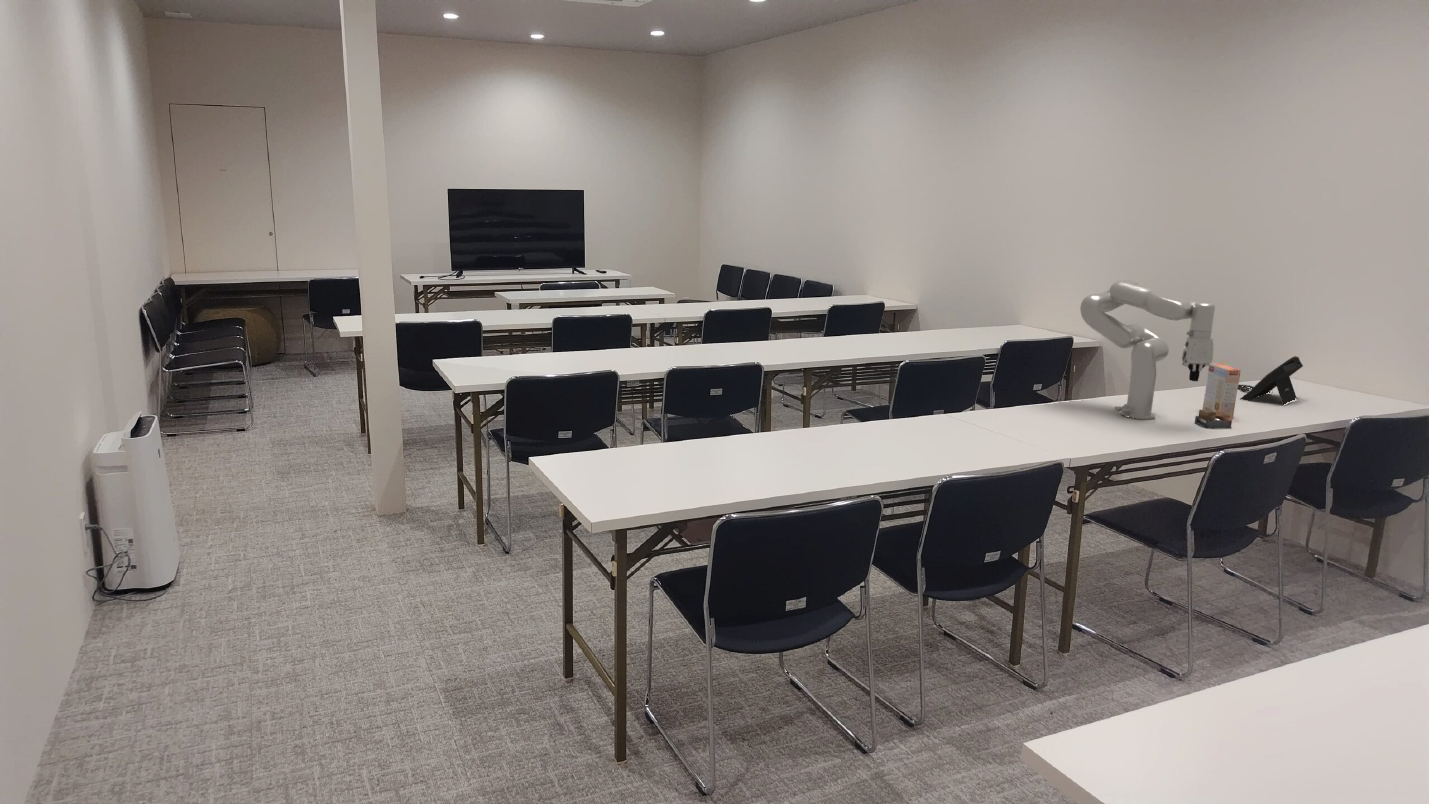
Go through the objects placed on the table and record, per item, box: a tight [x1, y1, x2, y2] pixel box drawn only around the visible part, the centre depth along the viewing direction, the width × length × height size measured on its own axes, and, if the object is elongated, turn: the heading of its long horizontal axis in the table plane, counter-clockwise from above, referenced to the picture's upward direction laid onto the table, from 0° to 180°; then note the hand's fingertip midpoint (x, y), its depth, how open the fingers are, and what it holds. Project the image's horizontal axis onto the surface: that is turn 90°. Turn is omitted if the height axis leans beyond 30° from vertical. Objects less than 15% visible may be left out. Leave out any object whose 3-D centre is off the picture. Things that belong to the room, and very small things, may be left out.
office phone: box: [1238, 355, 1304, 406], centre depth 407 cm, size 29×28×20 cm
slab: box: [1197, 409, 1216, 420], centre depth 355 cm, size 4×5×3 cm
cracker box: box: [1201, 362, 1242, 420], centre depth 371 cm, size 14×6×21 cm, turn 179°
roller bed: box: [1194, 411, 1234, 429], centre depth 356 cm, size 10×8×5 cm
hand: (1193, 380), depth 351 cm, fingers closed
